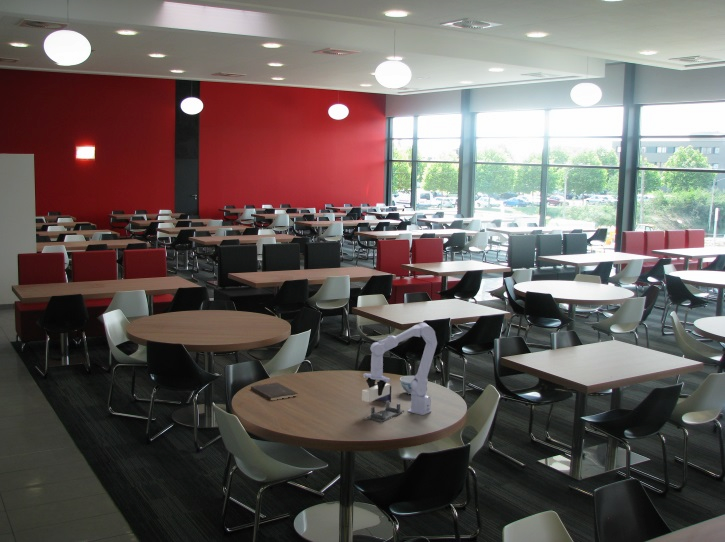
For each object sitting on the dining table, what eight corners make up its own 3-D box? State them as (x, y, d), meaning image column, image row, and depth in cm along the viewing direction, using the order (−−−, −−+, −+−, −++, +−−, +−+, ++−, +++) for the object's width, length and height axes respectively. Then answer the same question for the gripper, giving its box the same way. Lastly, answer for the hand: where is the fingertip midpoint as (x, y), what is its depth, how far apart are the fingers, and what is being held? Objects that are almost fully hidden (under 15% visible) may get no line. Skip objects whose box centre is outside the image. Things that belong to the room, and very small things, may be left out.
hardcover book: (277, 386, 401) (277, 382, 400) (297, 397, 382) (297, 393, 381) (250, 390, 392) (250, 386, 391) (270, 401, 373) (270, 397, 372)
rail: (389, 393, 364) (389, 384, 363) (368, 402, 349) (368, 392, 349) (382, 392, 366) (383, 382, 366) (361, 400, 352) (362, 390, 351)
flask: (373, 400, 379) (374, 380, 378) (375, 398, 382) (376, 378, 380) (390, 403, 375) (390, 382, 374) (392, 401, 378) (392, 381, 376)
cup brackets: (403, 412, 361) (404, 402, 360) (381, 422, 345) (381, 412, 344) (389, 408, 366) (389, 399, 365) (366, 418, 350) (366, 408, 349)
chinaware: (428, 397, 386) (428, 383, 385) (399, 396, 386) (400, 382, 385) (426, 389, 401) (426, 376, 400) (398, 388, 401) (399, 375, 400)
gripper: (360, 366, 357) (359, 393, 359) (384, 371, 348) (383, 399, 350) (368, 363, 362) (367, 390, 364) (392, 368, 354) (391, 395, 356)
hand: (376, 394), depth 358 cm, fingers closed on rail, 4 cm apart
